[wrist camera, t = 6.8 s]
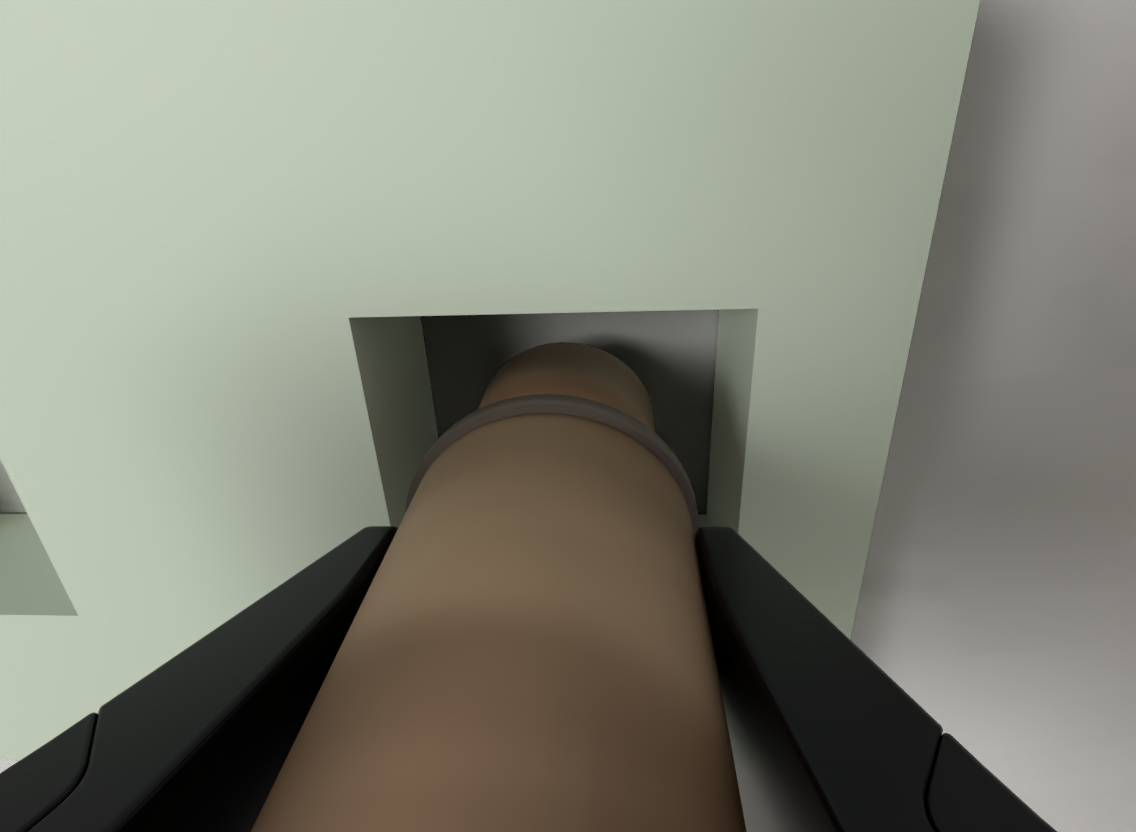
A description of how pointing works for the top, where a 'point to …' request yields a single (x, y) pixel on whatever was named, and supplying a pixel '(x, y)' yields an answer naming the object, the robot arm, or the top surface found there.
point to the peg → (528, 634)
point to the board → (424, 275)
